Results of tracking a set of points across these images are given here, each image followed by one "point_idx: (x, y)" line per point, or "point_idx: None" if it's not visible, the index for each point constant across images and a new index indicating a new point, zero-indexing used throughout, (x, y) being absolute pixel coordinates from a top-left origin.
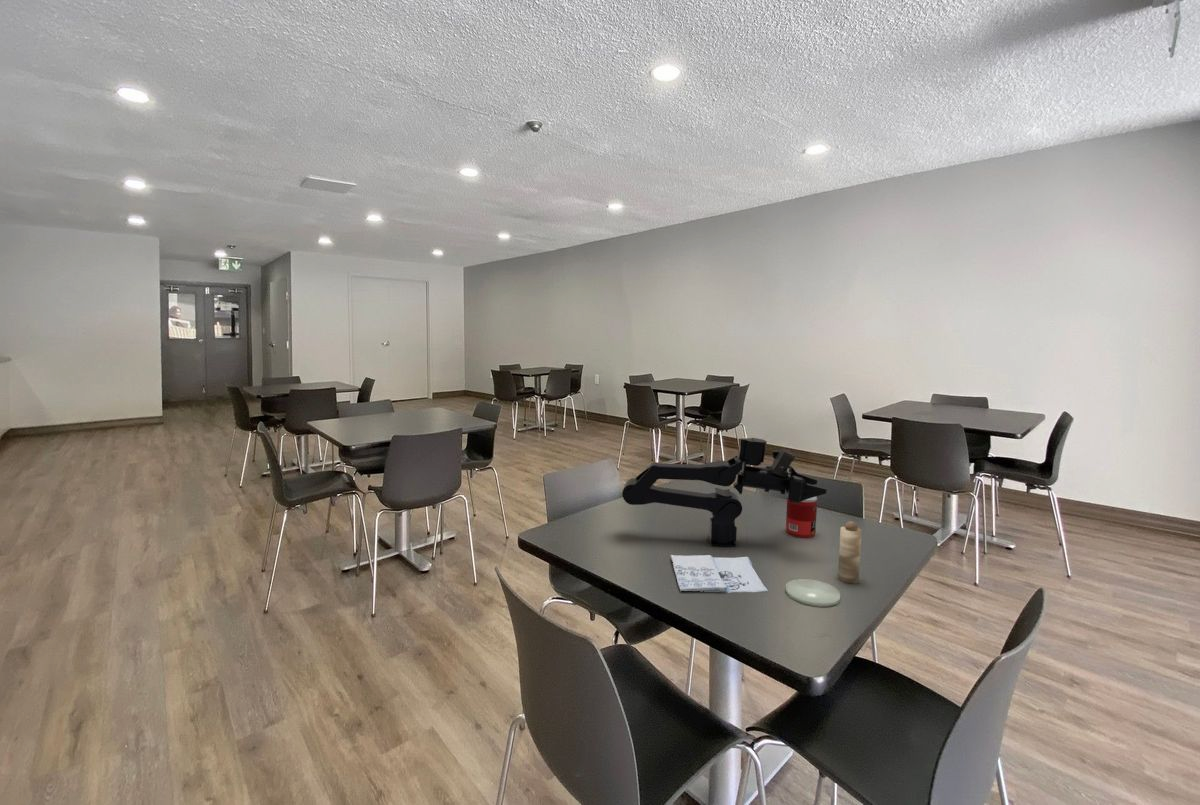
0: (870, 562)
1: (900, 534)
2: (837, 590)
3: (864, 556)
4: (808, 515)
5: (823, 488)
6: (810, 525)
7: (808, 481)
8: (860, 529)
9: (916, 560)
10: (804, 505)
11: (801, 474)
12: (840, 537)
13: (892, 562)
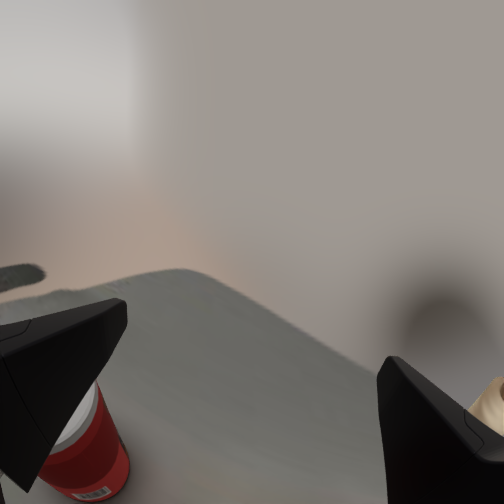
0: (322, 406)
1: (167, 284)
2: None
3: (285, 403)
4: (112, 441)
5: (405, 365)
6: (122, 449)
7: (90, 350)
8: (498, 377)
9: (296, 329)
10: (91, 437)
11: (10, 325)
12: (501, 434)
13: (313, 368)
